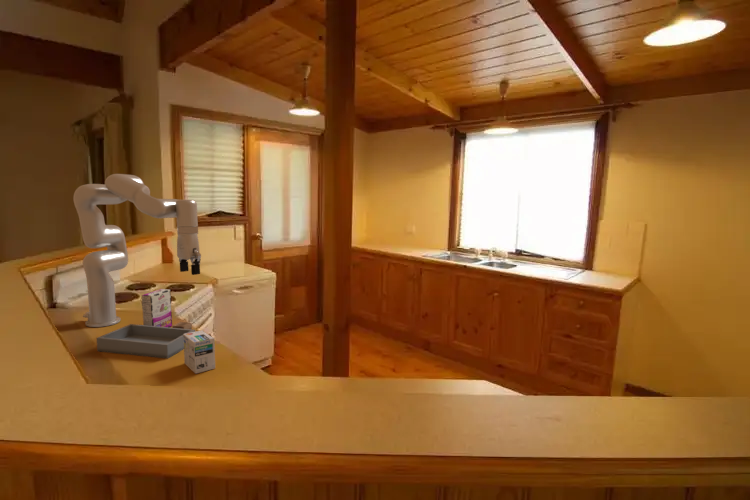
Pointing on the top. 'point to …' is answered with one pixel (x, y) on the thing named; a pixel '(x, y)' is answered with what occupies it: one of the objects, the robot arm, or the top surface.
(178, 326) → the walnut cube
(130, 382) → the top surface
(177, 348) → the tote
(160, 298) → the candy bar box
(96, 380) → the top surface
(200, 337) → the light bulb box
